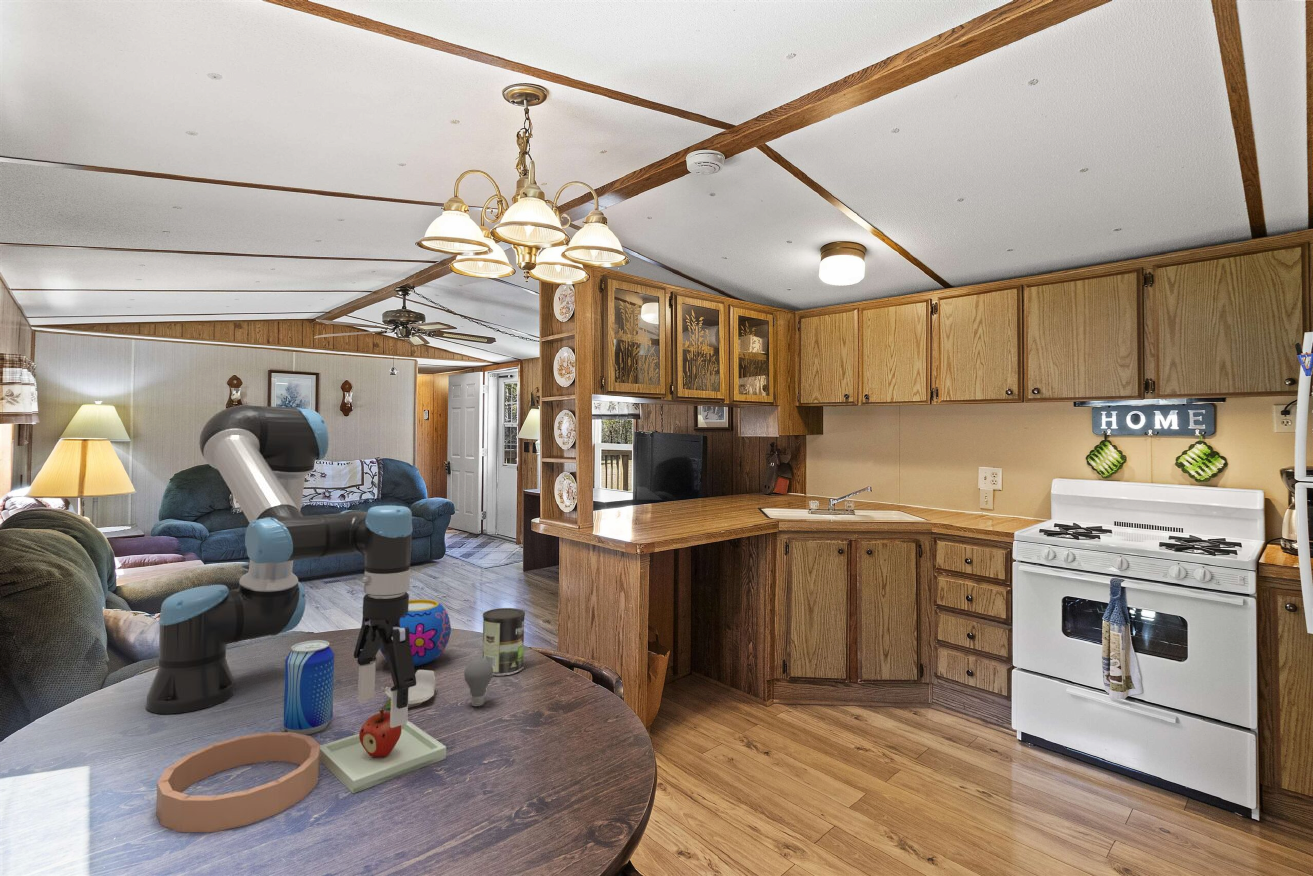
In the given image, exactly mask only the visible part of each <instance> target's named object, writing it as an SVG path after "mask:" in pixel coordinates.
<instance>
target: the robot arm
mask: <svg viewBox="0 0 1313 876" xmlns="http://www.w3.org/2000/svg"><path fill="white" fill-rule="evenodd" d="M198 442H199V443H198V444H199V449H200V453H201V455H202V456H203V458H204V460H205V462H206V463H207V464H208V465H209V467H210V466H211V468H213V469H215V470H217V471H219V473H220V475H221V478H222V479H223V481H224V482H225V484H226V485H227V487H228V489H229V490H230V492H231V493H232V495H233V497H234V499H235V500H236V502H237V504H238V505H239V507H240V508H241V511H242V513H243V514H244V516H245V518H246V519H247V521H248V523H249V524H248V525H247V528H246V531H245V535H244V537H245V538H244V545H245V549H246V554H247V556H248V558H249V566H248V571H247V572H246V573H245V574H243V575H242V576H241V577H240V578H239V581H238V588H237V589H231V590H229V588H228V586H226V585H225V584H211V585H202V586H198V587H192V588H188V589H184V590H181V591H178V592H176V593H174V594H171V595H170V596H168V597H166V598H165V600H163V602H162V604H161V607H160V613H159V614H160V615H159V619H158V624H159V633H158V634H159V643H158V668H157V671H156V674H155V676H154V678H153V681H152V683H151V685H150V688H149V690H148V693H147V695H146V705H145V708H146V710H147V711H148V712H151V713H154V714H167V715H169V714H181V713H187V712H193V711H198V710H202V709H206V708H210V707H212V706H216V705H218V704H220V703H222V702H224V701H226V700H227V701H228V699H230V698H231V697H232V696H233V695H234V693H235V679H234V677H233V674H232V672H231V668H230V666H229V663H228V661H227V659H226V657H227V655H226V653H227V645H229V644H234V643H235V644H236V643H240V642H243V641H250V640H255V639H260V638H265V637H269V636H272V637H273V636H277V635H279V634H283V633H286V632H289V631H292V630H293V629H295V628H296V627H297V626H298V625H299V624H300V622H301V621H302V618H303V617H304V613H305V610H306V604H307V599H306V598H305V597H306V590H305V587H304V585H303V584H302V583H301V582H300V581H299V578H298V576H297V575H296V574H294V573H293V568H294V567H293V566H294V561H300V560H301V561H302V560H306V559H307V560H308V559H316V558H323V557H324V558H325V557H333V556H340V555H341V556H342V555H348V554H349V555H350V554H360V555H364V577H362V579H361V582H362V584H364V585H363V592H364V593H365V595H364V596H362V597H363V598H362V599H363V600H362V621H361V626H360V630H359V633H358V637H357V639H356V644H355V648H354V652H353V658H354V659H357V664H358V665H359V666H358V685H357V702H358V703H362V702H365V701H368V700H372V699H375V686H376V685H375V684H376V683H375V682H376V661H377V656H376V655H377V654H378V652H379V651H380V649H379V648H380V647H381V650H382V653H384V654H386V657H387V660H386V661H387V665H388V668H389V672H390V676H391V680H392V683H393V685H392V686H391V687H390V688H391V689H390V690H391V708H390V709H389V712H390V727H391V728H393V727H397V726H400V725H403V724H406V723H407V720H408V713H409V707H408V694H409V687H413V686H416V677H415V674H416V672H415V666H414V665H413V659H412V653H411V646H410V636H409V627H405V628H401V627H400V621H399V620H400V618H401V617H403V616H405V615H406V614H407V613H408V606H409V600H410V594H409V593H408V591H410V586H411V585H410V584H411V582H410V580H411V555H412V554H411V553H412V543H413V542H412V539H413V530H414V529H413V524H412V523H413V519H412V518H413V516H412V514H413V513H412V510H411V508H409V507H407V506H403V505H377V506H371V507H370V508H368V510H367V511H364V510H361V509H358V510H357V509H356V510H354V509H352V510H350V509H348V510H344V511H342V512H339V513H330V514H315V515H303V514H302V512H301V509H302V502H303V495H304V489H305V488H304V487H305V481H306V480H305V479H306V476H307V475H309V474H310V473H311V472H313V471H314V469H315V463H316V461H320V460H322V459H324V458H325V457H326V455H327V453H328V451H329V450H328V449H329V433H328V429H327V425H326V422H325V420H324V418H323V417H322V416H321V414H319V413H318V412H317V411H315V410H313V409H310V408H309V409H308V408H307V409H306V408H300V407H295V406H294V407H292V406H291V407H289V406H288V407H287V406H265V405H252V404H251V405H250V404H242V405H234V406H231V407H227V408H224V409H222V410H221V411H219V412H217V413H215V414H214V415H213V416H212V417H210V419H208V421H207V422H206V423H205V425H204V426H203V428H202V430H201V432H200V435H199V441H198ZM382 653H381V654H382Z"/></svg>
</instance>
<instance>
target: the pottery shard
mask: <svg viewBox="0 0 1313 876" xmlns="http://www.w3.org/2000/svg"><path fill="white" fill-rule="evenodd" d="M415 677H416V686H413V687H409V694H408V698H409V699H408V708H412V707H416V706H420V705H422V703H423V702H427V701H428V700H430V699H432V697H433V696H434V695H435V688H436V682H437V680H436V677H435V671H434V670H428V669H426V670H425V669H418V670H416V672H415ZM380 688H381V689H382V692H383V693H384V695H385V697H387V699H388V700H390V699H391V690H390V689H391V688H392V687H391V686H390V687H389V686H386V687H384V686H381V687H380Z"/></svg>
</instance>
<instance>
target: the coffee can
mask: <svg viewBox="0 0 1313 876" xmlns="http://www.w3.org/2000/svg"><path fill="white" fill-rule="evenodd" d="M525 615H526V612H525V610H523V609H519V608H515V607H513V608H512V607H501V608H492V609H489V610H486V611H484V612H482V655H481V656H482V657H481V658H483V659H486V660H487V661H489V662H490V664H491V665H492V668H493V674H505V673H511V672H514V671H517V670H519V669H521V668H522V667H523V668H524V648H525V647H524V643H525V640H524V639H525Z"/></svg>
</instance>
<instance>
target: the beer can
mask: <svg viewBox="0 0 1313 876" xmlns="http://www.w3.org/2000/svg"><path fill="white" fill-rule="evenodd" d="M290 649H291V651H290V652H289V653H288V655H287V656H286V658H285V662H284V664H285V665H284V667H285V668H284V692H283V693H284V695H283V700H284V702H283V728H284V729H286V730H287V731H286V732H294V733H298V734H302V735H307V736H308V735H311V734H315V733H318V732H320V731H322V730H324V729H326V727H328V724H329V723H330V721H331V720H332V719H333V714H334V713H333V709H334V707H333V706H334V702H333V701H334V673H335V652H334V651H333V650H332V648H331V646H330V642H329V641H328V640H320V639H316V640H315V639H314V640H305V641H302V642H298V643H295V644H294V645H292V646H291V647H290Z"/></svg>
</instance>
